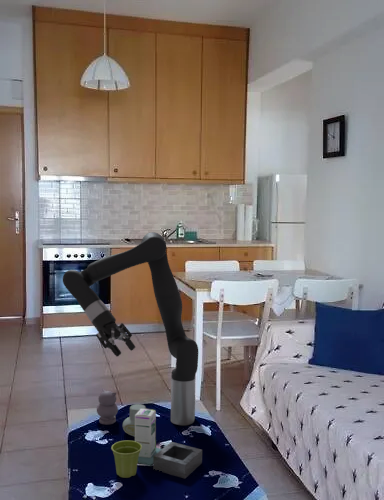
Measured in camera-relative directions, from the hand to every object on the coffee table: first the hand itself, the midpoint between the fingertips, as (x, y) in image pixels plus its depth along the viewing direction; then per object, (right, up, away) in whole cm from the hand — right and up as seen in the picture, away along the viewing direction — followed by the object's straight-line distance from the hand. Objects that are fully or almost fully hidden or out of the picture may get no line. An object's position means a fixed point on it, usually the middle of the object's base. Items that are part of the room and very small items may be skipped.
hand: (126, 352), depth 188 cm
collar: (+18, -34, -14) cm, 41 cm away
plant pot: (+2, -35, -19) cm, 40 cm away
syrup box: (+7, -33, -7) cm, 35 cm away
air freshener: (+3, -32, +10) cm, 34 cm away
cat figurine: (-10, -31, +20) cm, 38 cm away
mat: (+7, -33, -7) cm, 35 cm away
